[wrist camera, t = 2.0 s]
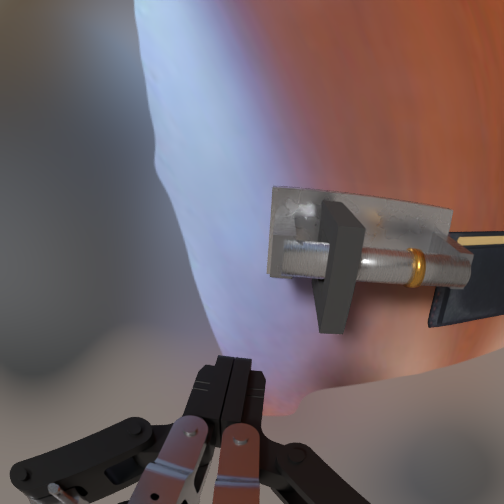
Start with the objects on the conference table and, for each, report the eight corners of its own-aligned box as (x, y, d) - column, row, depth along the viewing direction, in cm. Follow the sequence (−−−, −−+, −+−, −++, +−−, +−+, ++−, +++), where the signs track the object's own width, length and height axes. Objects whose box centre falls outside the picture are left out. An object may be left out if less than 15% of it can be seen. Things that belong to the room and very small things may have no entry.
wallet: (427, 332, 34) (451, 230, 29) (423, 325, 36) (444, 225, 31) (514, 318, 32) (538, 233, 26) (509, 312, 34) (531, 229, 28)
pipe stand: (448, 208, 29) (494, 232, 20) (430, 281, 33) (464, 322, 24) (273, 185, 31) (268, 204, 22) (267, 269, 35) (260, 315, 25)
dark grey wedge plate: (342, 202, 27) (365, 228, 19) (329, 283, 31) (342, 334, 22) (322, 199, 27) (338, 225, 19) (311, 282, 31) (319, 333, 22)
